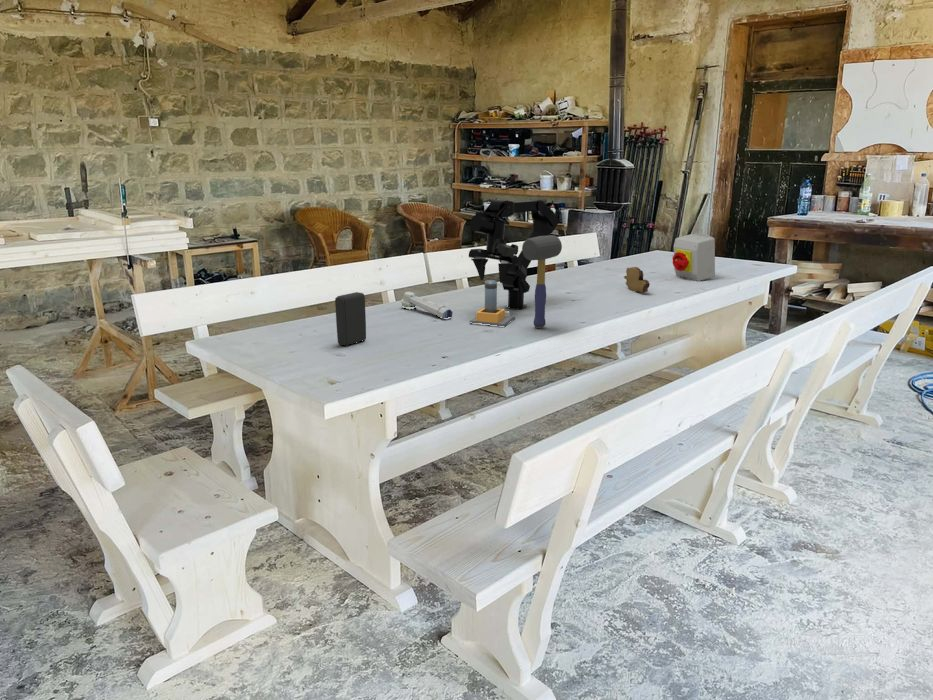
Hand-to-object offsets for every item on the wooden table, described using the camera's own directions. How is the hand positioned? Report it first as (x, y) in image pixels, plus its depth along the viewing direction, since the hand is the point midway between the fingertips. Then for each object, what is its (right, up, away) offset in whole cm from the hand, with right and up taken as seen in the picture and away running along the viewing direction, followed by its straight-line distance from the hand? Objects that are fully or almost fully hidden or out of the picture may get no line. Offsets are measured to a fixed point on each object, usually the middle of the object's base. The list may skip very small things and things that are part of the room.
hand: (491, 281), depth 240 cm
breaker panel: (0, -14, -5) cm, 15 cm away
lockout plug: (-1, -13, -7) cm, 15 cm away
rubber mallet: (+15, -17, -13) cm, 26 cm away
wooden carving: (+60, 0, +42) cm, 74 cm away
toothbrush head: (-23, -11, +6) cm, 27 cm away
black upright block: (-43, -22, -30) cm, 57 cm away
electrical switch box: (+90, +8, +69) cm, 114 cm away
